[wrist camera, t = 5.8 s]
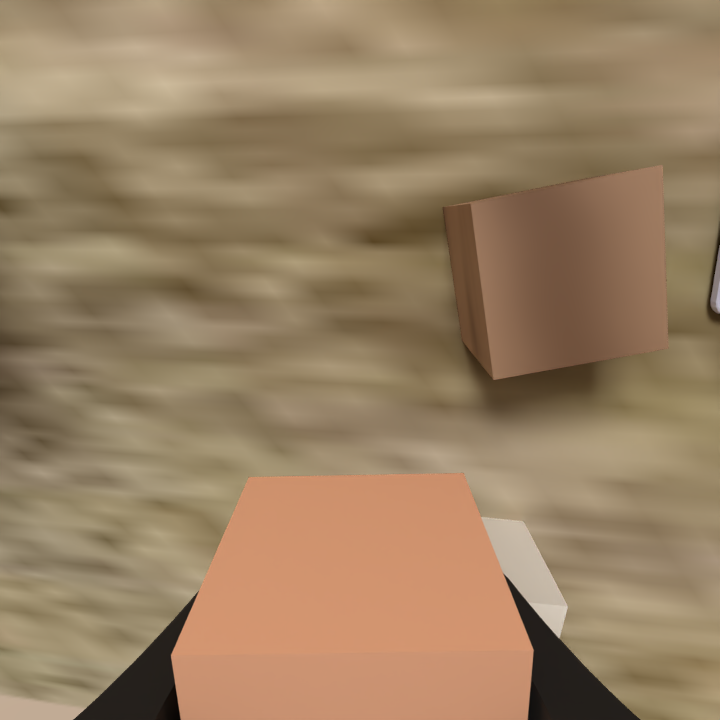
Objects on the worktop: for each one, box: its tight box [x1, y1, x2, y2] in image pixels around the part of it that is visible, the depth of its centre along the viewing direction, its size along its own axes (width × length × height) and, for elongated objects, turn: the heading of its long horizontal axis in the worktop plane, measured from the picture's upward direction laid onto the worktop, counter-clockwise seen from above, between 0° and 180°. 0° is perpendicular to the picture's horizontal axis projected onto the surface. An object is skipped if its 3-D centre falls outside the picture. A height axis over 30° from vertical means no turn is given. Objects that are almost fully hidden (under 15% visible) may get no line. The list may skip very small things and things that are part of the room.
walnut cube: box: [443, 165, 668, 380], centre depth 16 cm, size 5×5×5 cm
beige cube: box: [481, 517, 568, 638], centre depth 20 cm, size 5×5×5 cm
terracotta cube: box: [171, 473, 534, 720], centre depth 10 cm, size 5×5×5 cm
